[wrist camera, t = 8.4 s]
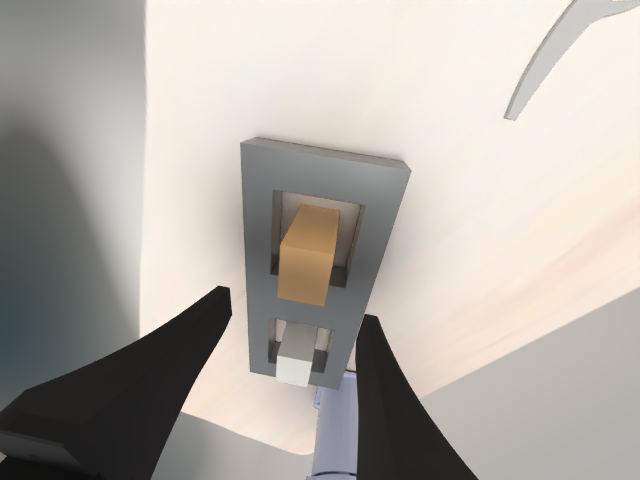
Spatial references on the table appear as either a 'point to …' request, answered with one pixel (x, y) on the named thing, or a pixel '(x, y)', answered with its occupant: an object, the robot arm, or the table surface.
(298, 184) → the grey two-slot frame
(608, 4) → the pliers
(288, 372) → the white plug
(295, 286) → the orange plug
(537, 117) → the table surface
